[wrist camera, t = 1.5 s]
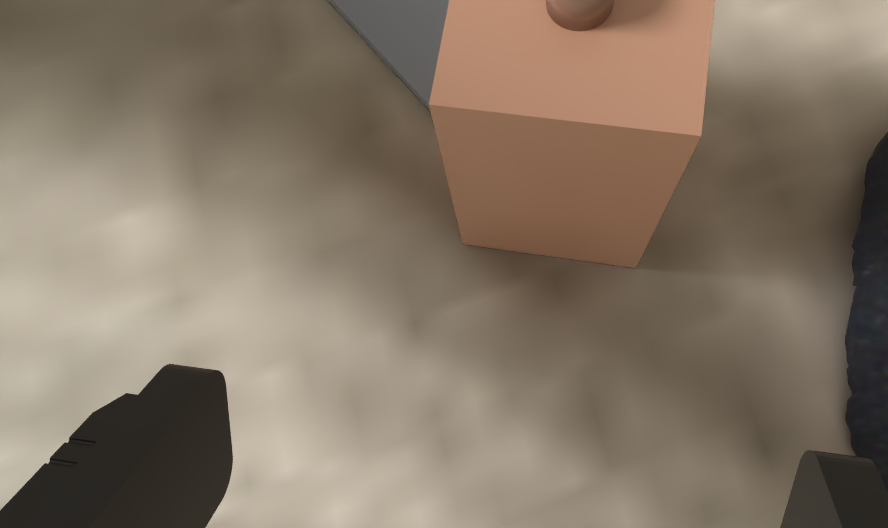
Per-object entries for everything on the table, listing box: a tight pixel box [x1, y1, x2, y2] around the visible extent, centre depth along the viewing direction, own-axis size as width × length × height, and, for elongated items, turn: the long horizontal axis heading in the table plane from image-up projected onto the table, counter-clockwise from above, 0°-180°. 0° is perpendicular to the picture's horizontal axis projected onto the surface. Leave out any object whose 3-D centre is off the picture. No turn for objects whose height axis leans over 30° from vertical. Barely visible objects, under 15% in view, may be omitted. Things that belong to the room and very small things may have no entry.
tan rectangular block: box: [429, 0, 715, 268], centre depth 24 cm, size 6×6×12 cm
